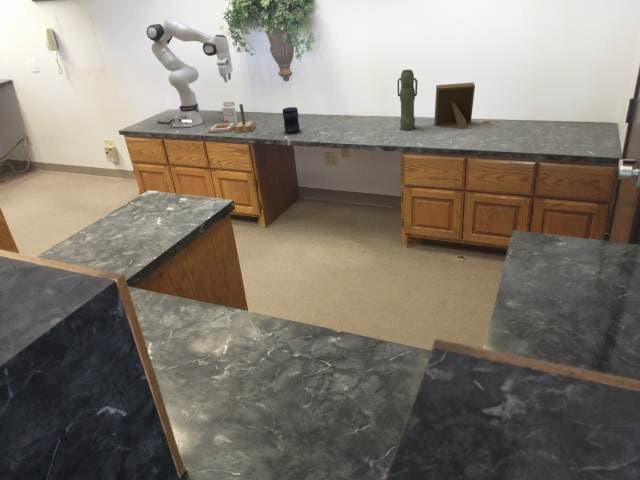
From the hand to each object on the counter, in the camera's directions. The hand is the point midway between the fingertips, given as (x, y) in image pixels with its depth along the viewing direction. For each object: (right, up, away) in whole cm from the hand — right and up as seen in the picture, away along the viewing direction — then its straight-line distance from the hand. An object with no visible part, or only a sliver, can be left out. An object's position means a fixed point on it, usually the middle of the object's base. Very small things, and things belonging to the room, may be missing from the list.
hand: (227, 80), depth 355 cm
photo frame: (+147, -41, -42) cm, 158 cm away
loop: (-3, -34, -2) cm, 34 cm away
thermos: (+119, -42, -38) cm, 132 cm away
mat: (-3, -34, -2) cm, 34 cm away
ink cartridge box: (0, -27, +11) cm, 30 cm away
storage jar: (+46, -41, -23) cm, 66 cm away
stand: (+13, -36, -7) cm, 39 cm away
